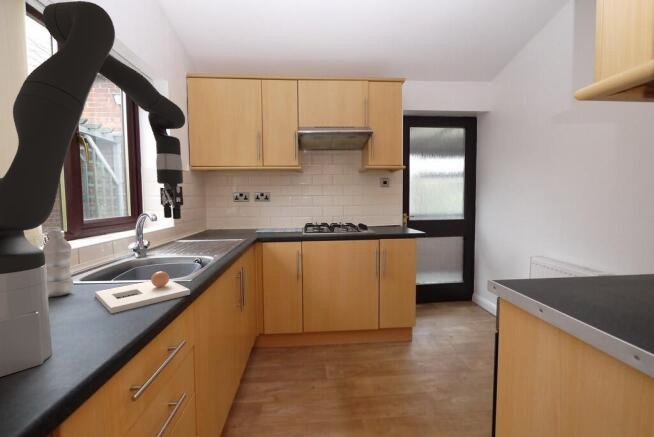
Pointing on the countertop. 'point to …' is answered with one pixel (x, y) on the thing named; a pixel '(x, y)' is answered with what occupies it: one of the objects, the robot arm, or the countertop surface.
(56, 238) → the plastic bottle
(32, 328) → the robot arm
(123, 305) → the white square board
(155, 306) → the countertop surface
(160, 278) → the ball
